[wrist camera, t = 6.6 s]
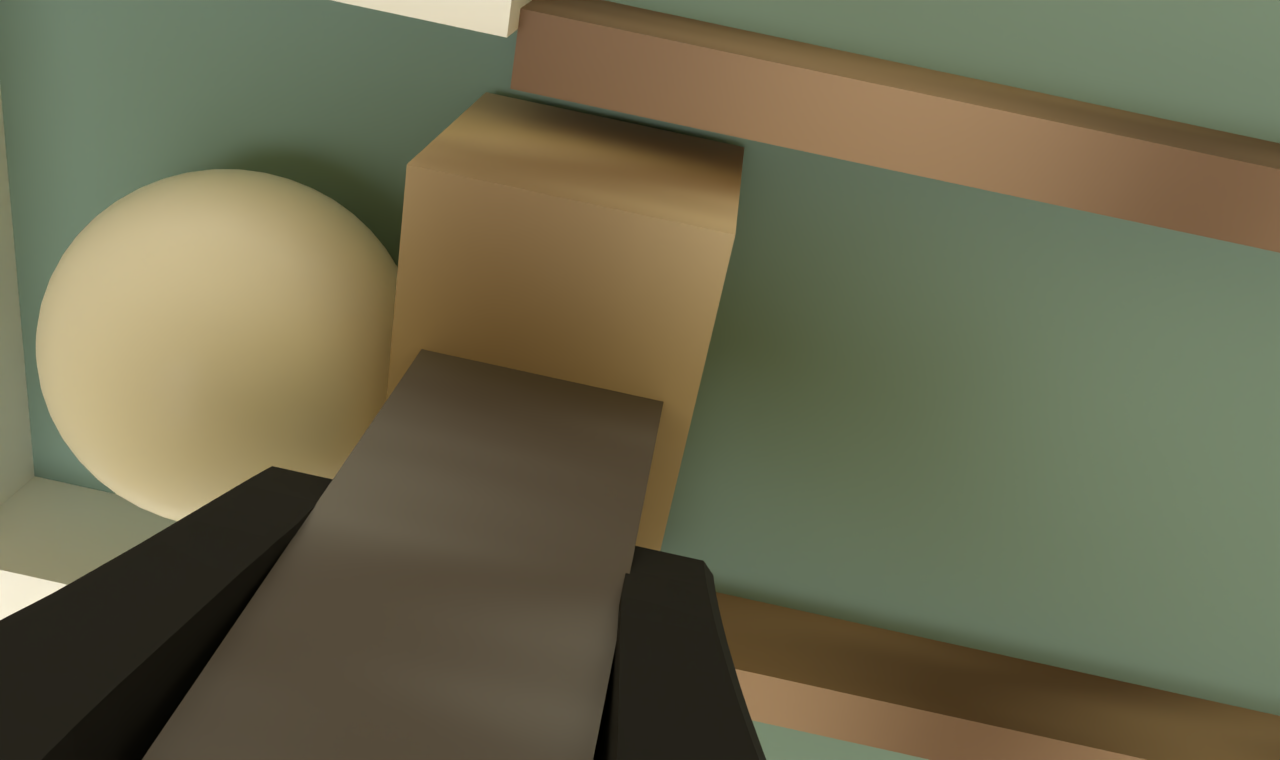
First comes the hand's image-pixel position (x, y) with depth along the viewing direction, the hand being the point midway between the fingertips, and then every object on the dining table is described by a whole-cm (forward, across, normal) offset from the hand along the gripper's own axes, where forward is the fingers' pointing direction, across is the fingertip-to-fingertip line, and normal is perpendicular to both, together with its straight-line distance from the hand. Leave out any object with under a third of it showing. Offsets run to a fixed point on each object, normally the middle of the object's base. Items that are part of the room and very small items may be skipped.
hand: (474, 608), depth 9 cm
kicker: (+6, 0, 0) cm, 6 cm away
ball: (+3, +4, 0) cm, 5 cm away
